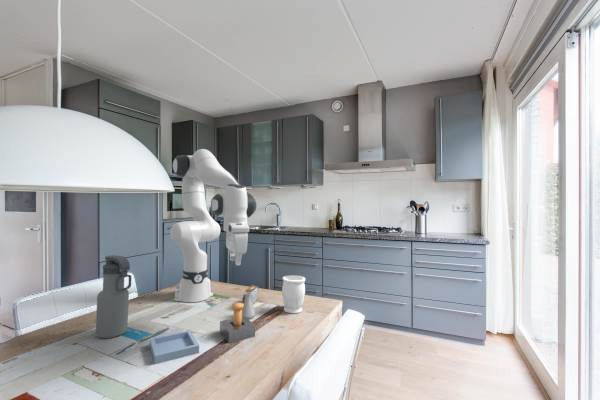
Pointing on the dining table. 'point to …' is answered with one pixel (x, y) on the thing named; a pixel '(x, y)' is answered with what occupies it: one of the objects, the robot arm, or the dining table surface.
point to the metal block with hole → (237, 330)
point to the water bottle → (113, 298)
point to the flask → (248, 306)
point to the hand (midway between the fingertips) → (235, 262)
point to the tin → (254, 292)
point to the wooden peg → (237, 313)
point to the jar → (293, 293)
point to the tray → (173, 346)
